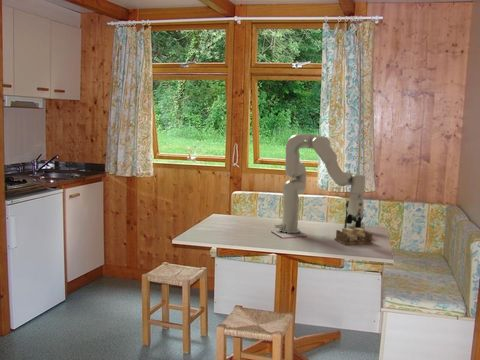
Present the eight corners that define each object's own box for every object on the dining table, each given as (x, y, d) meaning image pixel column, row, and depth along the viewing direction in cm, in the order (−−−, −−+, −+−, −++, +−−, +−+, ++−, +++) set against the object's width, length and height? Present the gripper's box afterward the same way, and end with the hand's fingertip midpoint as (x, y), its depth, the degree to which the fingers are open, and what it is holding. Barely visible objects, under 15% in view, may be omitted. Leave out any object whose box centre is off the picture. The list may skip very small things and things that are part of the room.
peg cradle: (344, 245, 277) (345, 234, 276) (334, 239, 288) (335, 229, 288) (372, 244, 283) (373, 233, 282) (361, 239, 294) (362, 229, 293)
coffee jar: (359, 229, 321) (361, 200, 319) (358, 231, 314) (360, 202, 311) (344, 227, 324) (346, 199, 322) (343, 230, 316) (345, 201, 314)
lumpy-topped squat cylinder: (347, 237, 296) (348, 223, 295) (344, 232, 309) (345, 218, 308) (364, 238, 296) (366, 224, 295) (361, 233, 308) (362, 220, 307)
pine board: (360, 234, 289) (360, 228, 289) (364, 236, 285) (365, 229, 284) (341, 235, 286) (342, 228, 285) (346, 237, 281) (346, 230, 281)
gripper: (370, 199, 275) (367, 229, 278) (354, 193, 292) (351, 221, 294) (358, 198, 273) (355, 229, 275) (343, 193, 289) (340, 221, 292)
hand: (353, 225), depth 285 cm, fingers open, 9 cm apart
